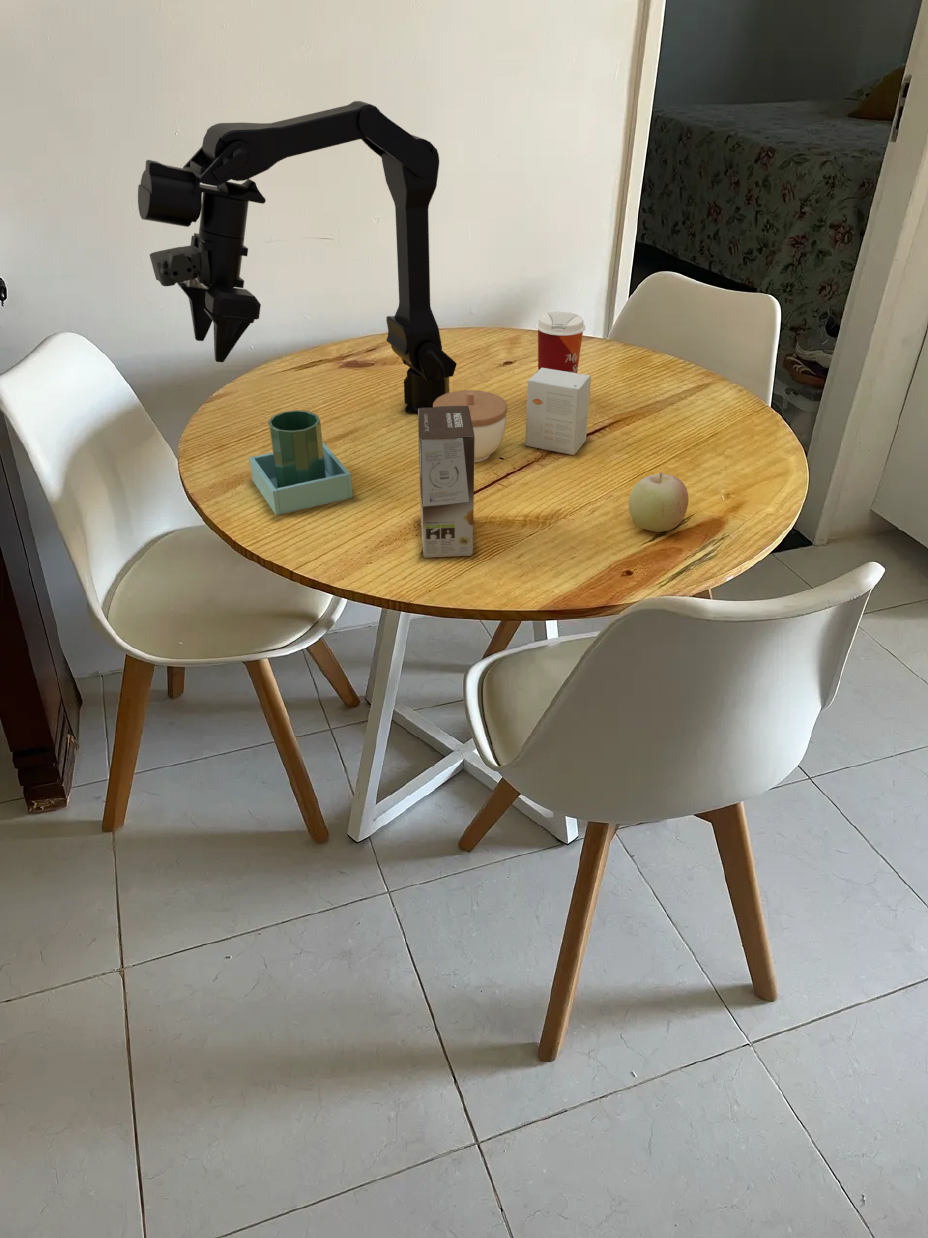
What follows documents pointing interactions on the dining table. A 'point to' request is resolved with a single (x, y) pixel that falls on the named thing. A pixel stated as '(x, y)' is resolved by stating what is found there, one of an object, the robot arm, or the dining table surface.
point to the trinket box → (480, 418)
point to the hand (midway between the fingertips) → (209, 350)
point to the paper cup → (559, 341)
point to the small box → (557, 410)
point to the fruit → (658, 502)
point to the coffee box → (446, 480)
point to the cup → (296, 447)
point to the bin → (301, 484)
